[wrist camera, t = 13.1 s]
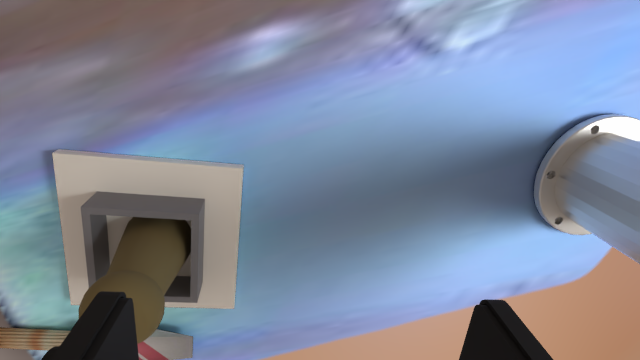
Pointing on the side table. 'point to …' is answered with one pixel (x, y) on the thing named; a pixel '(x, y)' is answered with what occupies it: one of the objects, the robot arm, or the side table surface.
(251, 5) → the side table surface
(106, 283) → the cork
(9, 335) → the paintbrush
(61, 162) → the beige square socket base
